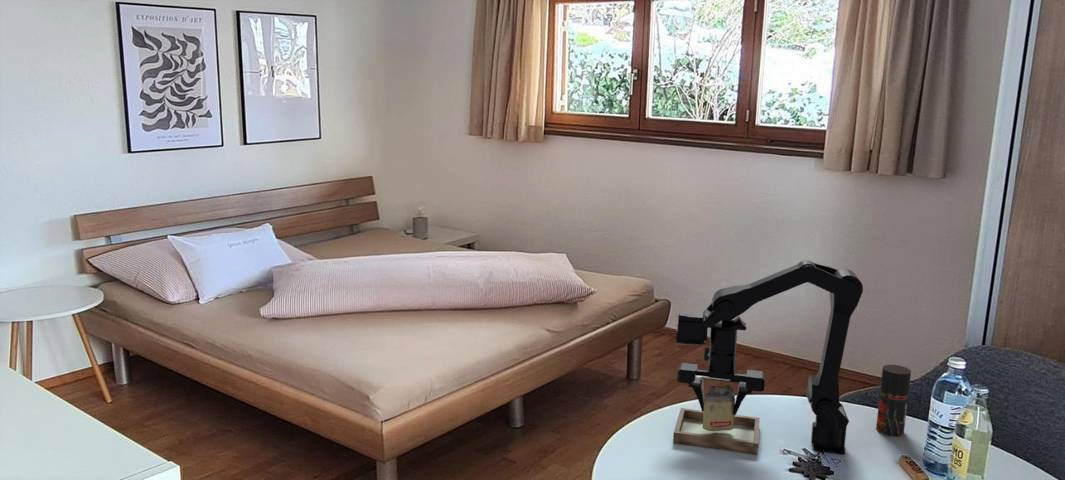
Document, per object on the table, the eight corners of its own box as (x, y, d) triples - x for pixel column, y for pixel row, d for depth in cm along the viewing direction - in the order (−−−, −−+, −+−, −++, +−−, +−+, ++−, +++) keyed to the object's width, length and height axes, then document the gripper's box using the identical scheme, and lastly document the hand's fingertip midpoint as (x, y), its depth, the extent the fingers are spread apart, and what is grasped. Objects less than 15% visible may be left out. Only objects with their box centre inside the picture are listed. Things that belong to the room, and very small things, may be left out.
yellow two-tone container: (705, 432, 188) (708, 390, 186) (699, 425, 192) (701, 383, 190) (735, 430, 189) (738, 388, 187) (729, 423, 193) (732, 382, 191)
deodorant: (905, 438, 191) (912, 375, 188) (877, 434, 193) (884, 372, 189) (901, 427, 197) (908, 366, 193) (874, 424, 198) (881, 363, 195)
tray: (758, 428, 195) (759, 417, 194) (757, 454, 182) (758, 443, 181) (680, 418, 200) (680, 407, 199) (673, 443, 187) (673, 432, 186)
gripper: (767, 339, 191) (762, 404, 195) (684, 331, 196) (680, 394, 200) (766, 355, 181) (761, 423, 184) (678, 346, 186) (675, 413, 189)
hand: (718, 412), depth 190 cm, fingers closed on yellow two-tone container, 6 cm apart
